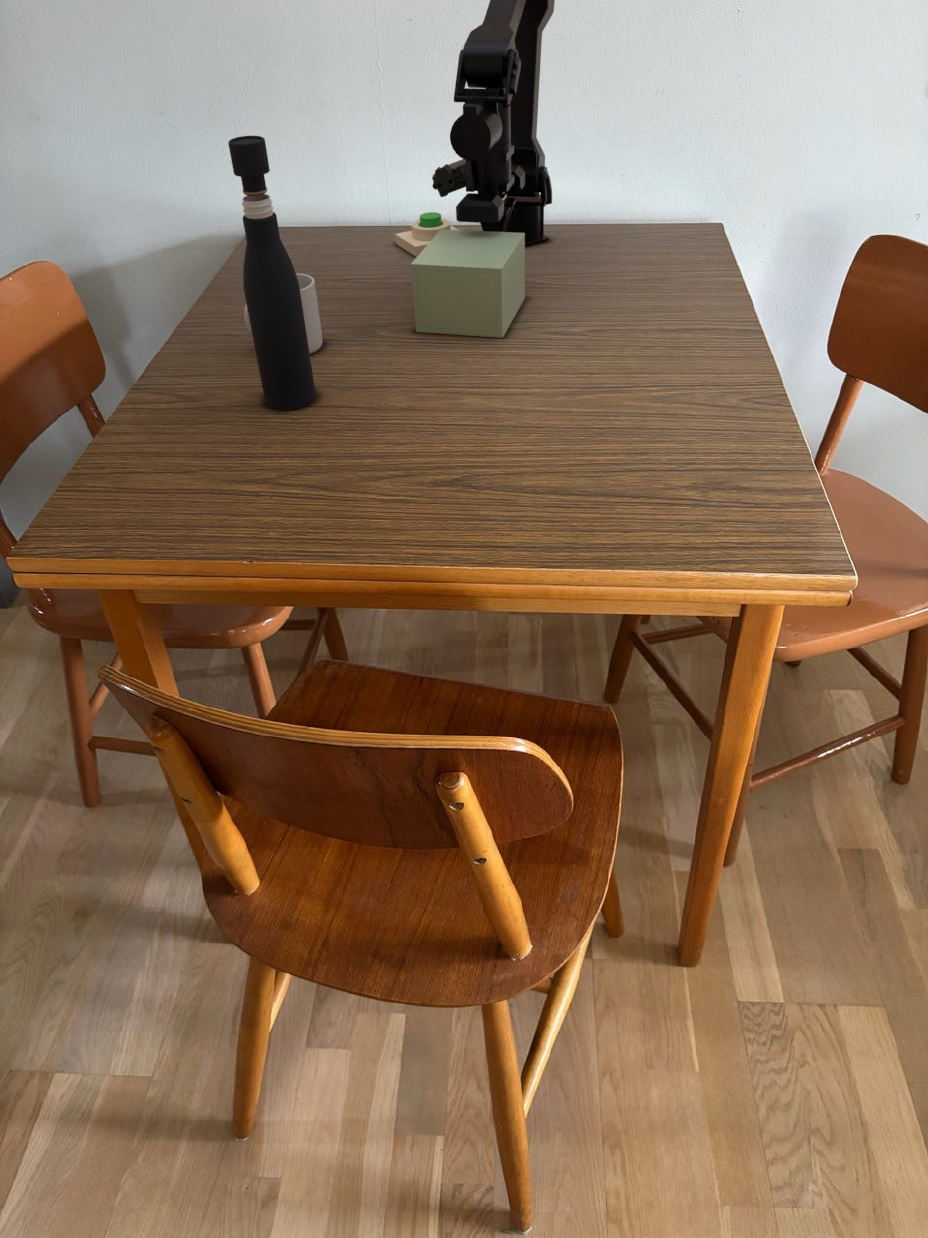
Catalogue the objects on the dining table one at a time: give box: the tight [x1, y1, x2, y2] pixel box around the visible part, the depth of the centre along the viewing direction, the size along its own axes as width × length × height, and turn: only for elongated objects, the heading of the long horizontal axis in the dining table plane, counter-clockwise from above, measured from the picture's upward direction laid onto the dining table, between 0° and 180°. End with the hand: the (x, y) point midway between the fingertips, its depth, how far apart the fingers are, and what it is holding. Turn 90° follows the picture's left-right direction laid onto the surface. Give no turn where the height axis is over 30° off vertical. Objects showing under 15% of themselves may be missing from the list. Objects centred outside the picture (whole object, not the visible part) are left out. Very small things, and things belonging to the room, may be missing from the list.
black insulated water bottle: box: [227, 135, 317, 411], centre depth 111 cm, size 6×6×30 cm
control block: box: [394, 217, 459, 258], centre depth 163 cm, size 10×8×4 cm
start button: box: [419, 211, 442, 228], centre depth 161 cm, size 4×4×2 cm
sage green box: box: [410, 229, 526, 339], centre depth 136 cm, size 15×13×10 cm
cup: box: [243, 273, 324, 355], centre depth 130 cm, size 7×10×9 cm
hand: (493, 251), depth 146 cm, fingers closed
